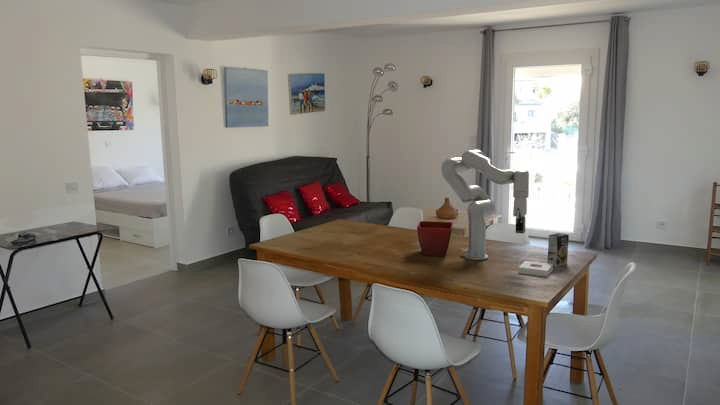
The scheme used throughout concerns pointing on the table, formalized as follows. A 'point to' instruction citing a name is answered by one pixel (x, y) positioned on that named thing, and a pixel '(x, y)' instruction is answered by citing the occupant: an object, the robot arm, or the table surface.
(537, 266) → the outlet
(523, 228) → the dark grey rectangular block
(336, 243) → the table surface
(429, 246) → the plant pot
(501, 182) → the robot arm
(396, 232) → the table surface
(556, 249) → the coffee box
